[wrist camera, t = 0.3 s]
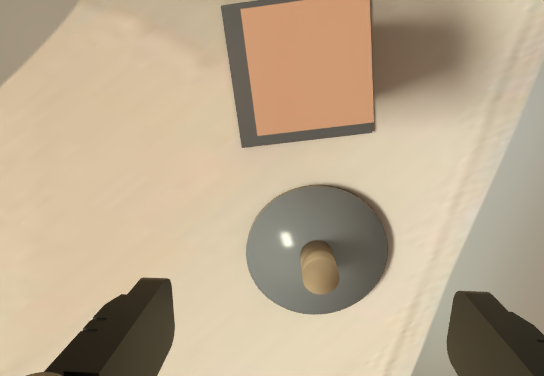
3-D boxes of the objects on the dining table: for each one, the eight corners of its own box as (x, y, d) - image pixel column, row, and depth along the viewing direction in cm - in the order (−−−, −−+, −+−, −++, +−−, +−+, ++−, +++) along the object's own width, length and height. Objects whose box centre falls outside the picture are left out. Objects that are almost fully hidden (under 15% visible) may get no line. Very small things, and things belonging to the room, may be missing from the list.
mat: (221, 6, 27) (220, 5, 26) (365, -14, 26) (366, -15, 26) (242, 146, 30) (242, 147, 30) (370, 131, 29) (371, 132, 29)
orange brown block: (254, 34, 27) (240, 9, 17) (337, 23, 26) (369, -10, 17) (265, 117, 29) (257, 136, 19) (342, 107, 28) (374, 122, 19)
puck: (308, 235, 31) (312, 256, 28) (338, 247, 32) (346, 270, 28) (294, 262, 32) (296, 286, 28) (324, 273, 33) (329, 299, 29)
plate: (279, 162, 30) (279, 164, 30) (410, 217, 32) (414, 221, 31) (227, 281, 34) (225, 286, 33) (346, 326, 35) (347, 332, 34)
